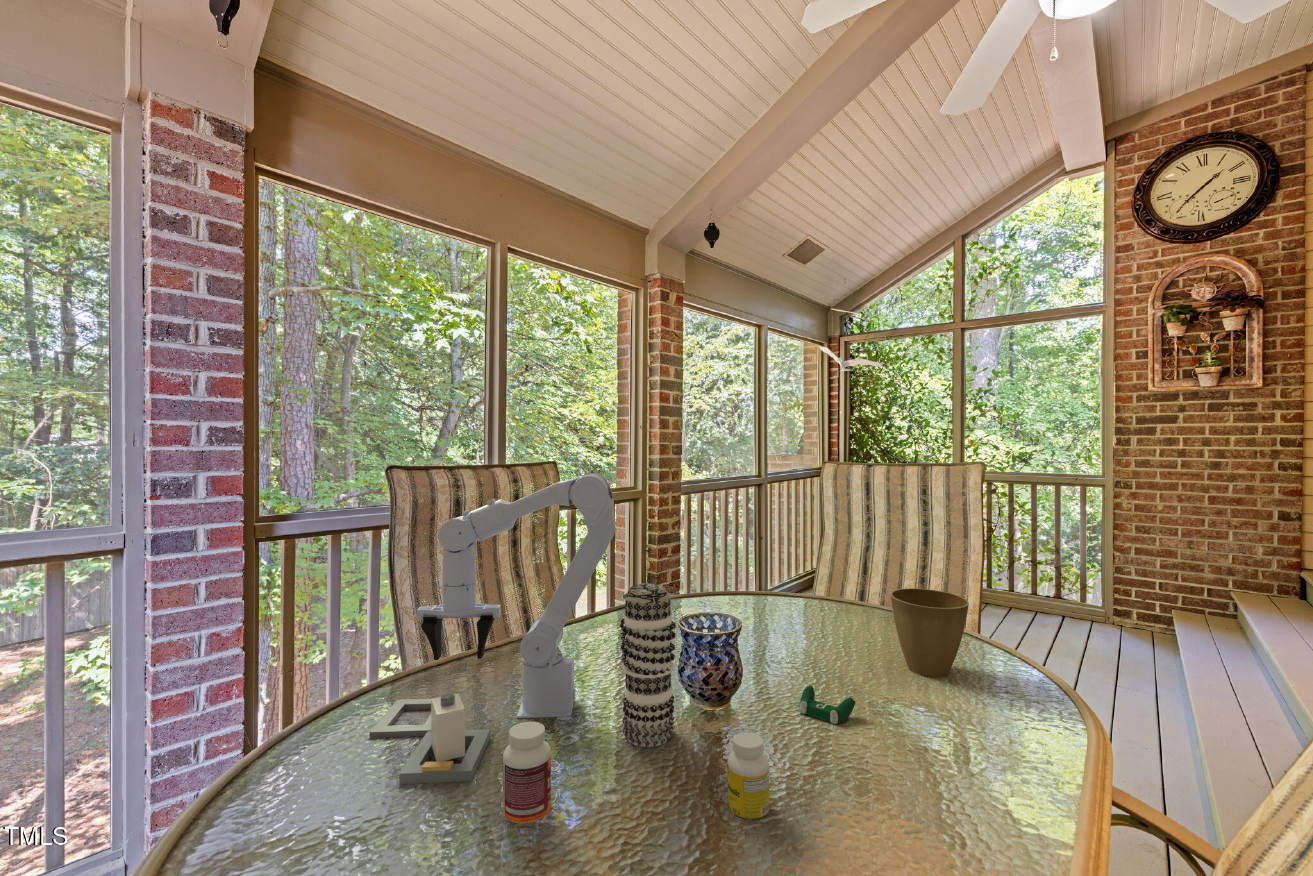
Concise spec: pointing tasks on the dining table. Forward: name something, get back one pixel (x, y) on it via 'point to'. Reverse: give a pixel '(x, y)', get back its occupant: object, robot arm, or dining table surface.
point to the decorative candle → (648, 665)
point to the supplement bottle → (748, 777)
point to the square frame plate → (386, 722)
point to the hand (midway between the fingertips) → (459, 657)
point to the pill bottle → (526, 774)
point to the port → (445, 770)
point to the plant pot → (929, 628)
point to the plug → (447, 727)
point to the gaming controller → (824, 708)
